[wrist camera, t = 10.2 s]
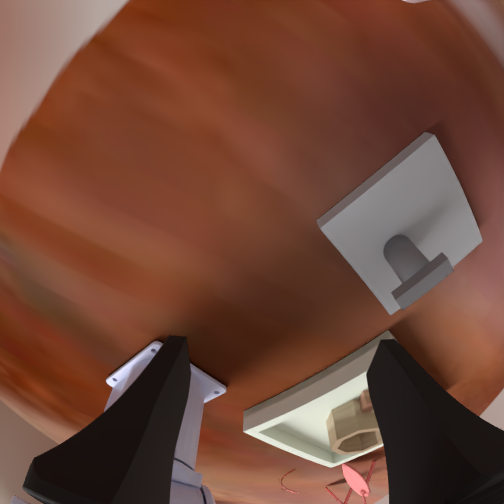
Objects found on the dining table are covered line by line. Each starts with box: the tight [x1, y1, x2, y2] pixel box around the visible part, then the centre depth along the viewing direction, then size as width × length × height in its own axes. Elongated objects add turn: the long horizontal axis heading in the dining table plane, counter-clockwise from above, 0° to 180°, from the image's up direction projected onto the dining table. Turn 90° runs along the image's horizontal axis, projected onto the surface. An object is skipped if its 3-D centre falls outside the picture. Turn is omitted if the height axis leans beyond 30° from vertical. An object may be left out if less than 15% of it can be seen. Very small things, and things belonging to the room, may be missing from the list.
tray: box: [243, 330, 399, 467], centre depth 27 cm, size 16×16×2 cm
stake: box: [316, 132, 483, 315], centre depth 16 cm, size 9×9×5 cm
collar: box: [326, 390, 383, 455], centre depth 25 cm, size 8×6×4 cm
